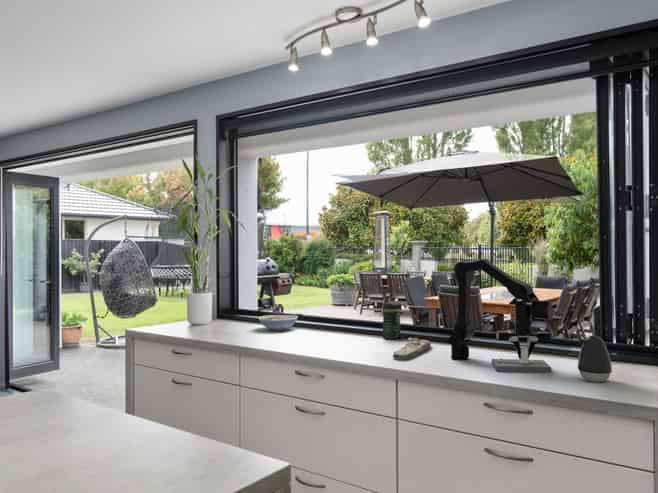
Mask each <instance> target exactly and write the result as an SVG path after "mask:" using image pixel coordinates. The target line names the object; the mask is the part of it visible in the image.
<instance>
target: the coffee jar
mask: <svg viewBox="0 0 658 493" xmlns="http://www.w3.org/2000/svg"><path fill="white" fill-rule="evenodd" d="M382 314H383V315H382V316H383V317H382V320H383V322H382V338H383V339H386V340H390V339H391V340H396V339H399V338H398V337H399V333H400V331H402V330H401V303H400V302H399V301H388V302H387V301H386V302H384V303H383V304H382Z"/></svg>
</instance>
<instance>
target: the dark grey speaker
mask: <svg viewBox="0 0 658 493" xmlns="http://www.w3.org/2000/svg"><path fill="white" fill-rule="evenodd" d="M578 341H579V343H582V345H581V348H580V350H579V355H578V359H577V360H578V361H577V369H578V371H579V374H580V377H582V378H583V379H584V380H585V381H587V382H592V383H603V382H607V380H609V378H610V377H611V373H612V372H613V368H612V360H611V358H610V354H609V351H608V348H607V346H606V344H605V342H604V340H603V339H602V338H601V337H600V336H598V335H588V336H587V337H586V338H585V339H584V338H581V337H579V338H578Z"/></svg>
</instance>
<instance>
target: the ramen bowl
mask: <svg viewBox="0 0 658 493" xmlns="http://www.w3.org/2000/svg"><path fill="white" fill-rule="evenodd" d="M299 316H303V313H292V314H291V313H286V314H285V313H282V314H265V315H260V316H258V320H259V322H260V323H261V324H262V325H263V326H264V328H267V329H270V330H271V331H276V332H278V331H285V330H287V329H289V328H291V327H292V326H293V325H294V324H295V323H296V321H297V320H298V317H299Z"/></svg>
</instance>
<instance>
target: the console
mask: <svg viewBox="0 0 658 493" xmlns="http://www.w3.org/2000/svg"><path fill="white" fill-rule="evenodd" d="M491 365H492V366H493V369H494V370H495V372H496V373H497V372H505V373H506V372H507V373H508V372H509V373H538V374H539V373H541V374H551V373H552V366H550V364H548V363H547V362H546V361H545V360H544V359H528V364H527V363H521V362H520V361H519V358H518V359H516V358H515V359H514V358H513V359H510V358H509V359H508V358H491Z"/></svg>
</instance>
